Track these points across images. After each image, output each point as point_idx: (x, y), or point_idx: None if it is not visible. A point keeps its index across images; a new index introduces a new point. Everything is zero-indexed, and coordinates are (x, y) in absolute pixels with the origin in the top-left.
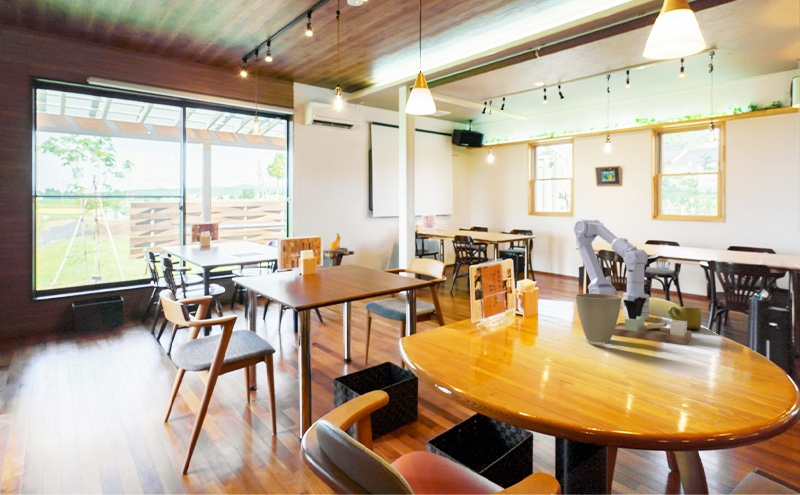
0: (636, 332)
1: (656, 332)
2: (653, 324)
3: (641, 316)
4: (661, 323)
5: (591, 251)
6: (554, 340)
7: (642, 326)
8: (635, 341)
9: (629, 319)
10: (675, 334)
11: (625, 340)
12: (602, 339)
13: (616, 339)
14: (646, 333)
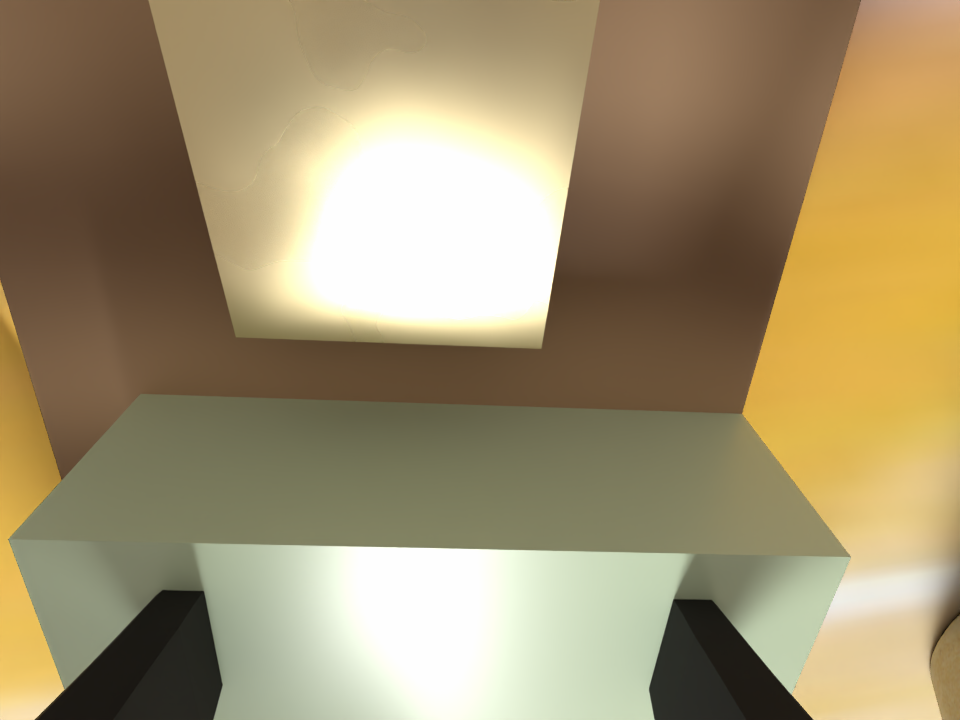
0: (733, 409)
1: (669, 105)
2: (362, 233)
3: (164, 572)
4: (330, 32)
5: None
6: None
7: (288, 408)
8: (938, 339)
9: (792, 671)
10: None
11: (919, 445)
12: None
13: (898, 528)
14: (777, 265)
